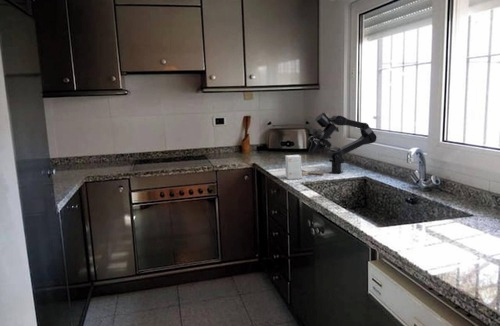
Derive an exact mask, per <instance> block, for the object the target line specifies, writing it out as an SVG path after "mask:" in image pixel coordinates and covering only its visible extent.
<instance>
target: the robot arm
mask: <svg viewBox="0 0 500 326" xmlns="http://www.w3.org/2000/svg"><path fill="white" fill-rule="evenodd" d="M314 121H315V122H316V123H317V124H318V125H319V126H320V128H317V129H315V128H311V129H310V132H309V135H310V136H309V137H308V138H307V140H308V141H309V142H310V146H309V149H308V153H309V154H310V153H311V154H312V155H314V154H315V153H318V152H320V151H322V150H324V149H326V148H327V149H329V150H328V151H327V153H326V158H327V159H328V161H329V162H330V163H331V171H329V173H330V174H336V175H337V174H338V175H339V174H342V173H343V172H344V170H342V164H344V162H345V159H344V156H345V155H346V154H348V153H350V152H353V151H354V150H356V149H358V148H360V147H362V146H364V145H370V144H374V143H375V142H376V141H377V135H376V133H375V132H374V131H373V130H372V128H371V127H370V126H369V124H368V123H367V122H361V121H357V120H353V119H349V118H347V117H345V116H342V115H337V114H334V115H332V117H329V116H328V115H326V112H322V113H321V114H319V115H317V116H316V117H315V118H314ZM338 126H348V127H351V128H355V129H359V130H360V134H361V135H360V136H359V138H358V139H355V140H353V141H352V142H350V143H348V144H346V145H344V146H342V147H338V146H334V147H333V148H331V147H332V143H331V142H330V141H329V140H331V138H332V137H331V136H332V135H333V134H334V133H335V132H336V133H337V132H339V131H340V130H339V129H340V128H339V127H338ZM321 128H323V129H321Z"/></svg>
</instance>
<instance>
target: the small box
mask: <svg viewBox="0 0 500 326" xmlns="http://www.w3.org/2000/svg"><path fill="white" fill-rule="evenodd" d="M284 156H285V159H284V160H285V178H286V179H288V180H298V179H302V178H303V177H302V176H303V175H302V172H303V171H302V156H301V155H300V154H292V155H291V154H289V155H288V154H287V155H284Z"/></svg>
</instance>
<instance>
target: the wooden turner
mask: <svg viewBox="0 0 500 326" xmlns="http://www.w3.org/2000/svg"><path fill="white" fill-rule="evenodd" d="M308 175H310V176H324V173H323V172H310V171H309V172H308V171H302V176H308Z"/></svg>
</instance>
